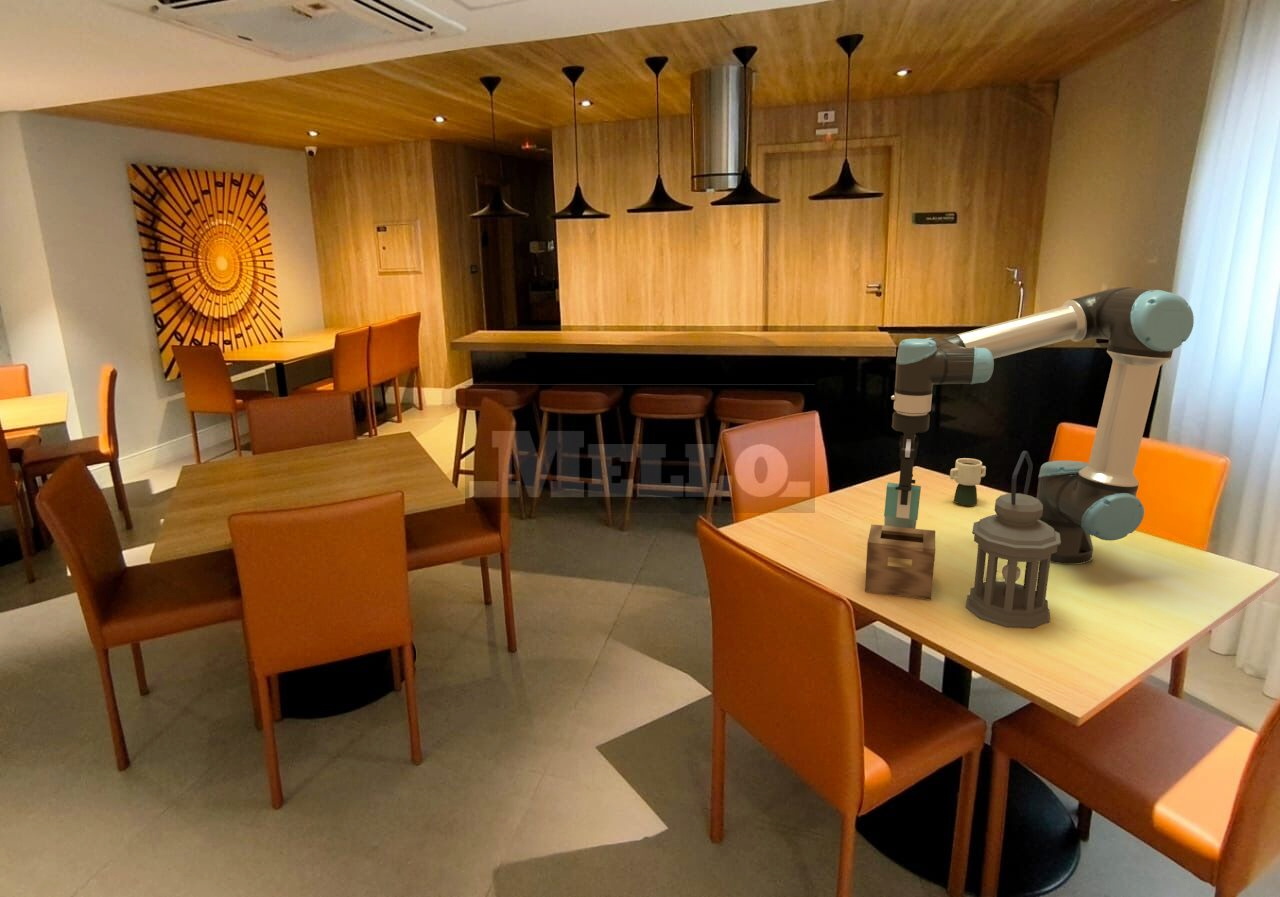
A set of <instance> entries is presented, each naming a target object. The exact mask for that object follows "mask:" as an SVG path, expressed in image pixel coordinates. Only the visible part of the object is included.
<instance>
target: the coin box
mask: <svg viewBox="0 0 1280 897" xmlns="http://www.w3.org/2000/svg"><path fill="white" fill-rule="evenodd" d="M866 544H867V545H866V546H867V547H866V565H865V584H864V592H866V593H873V594H874V593H875V594H881V595H890V596H897V597H898V596H899V597H905V598H912V599H913V598H914V599H921V600H929V601H932V597H933V596H932V593H933V584H934V570H935V560H936V559H935V558H936V530H934V529H933V530H932V529H922V528H916V529H914V528H904V527H894V526H884V525H881V524H872V523H871V524H870V529H869V534H868V538H867V543H866Z"/></svg>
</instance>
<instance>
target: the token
mask: <svg viewBox="0 0 1280 897" xmlns="http://www.w3.org/2000/svg"><path fill="white" fill-rule="evenodd" d="M898 486H899V482H896V483H895V482H889V481H888V482H887V484H886V492H885V502H884V511H883V512H884V514H883V516H884V517H885V516H888V517H896V513H897V500H898V490H895V487H898ZM911 487H912V490H911V502H910V514H909V518H904V519H912V520H916V521H918V518H919V509H920V508H919V507H920V498H921V488H922V486H921V485H917V484H912V485H911ZM896 518H899V517H896Z"/></svg>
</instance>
